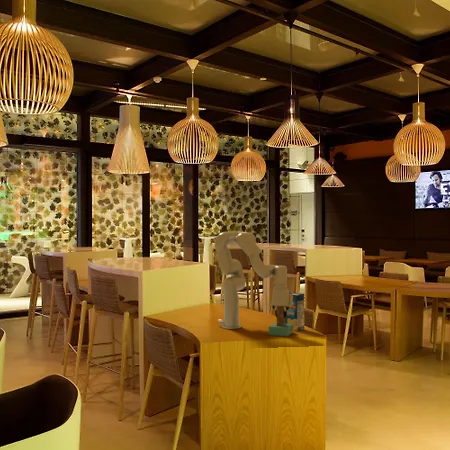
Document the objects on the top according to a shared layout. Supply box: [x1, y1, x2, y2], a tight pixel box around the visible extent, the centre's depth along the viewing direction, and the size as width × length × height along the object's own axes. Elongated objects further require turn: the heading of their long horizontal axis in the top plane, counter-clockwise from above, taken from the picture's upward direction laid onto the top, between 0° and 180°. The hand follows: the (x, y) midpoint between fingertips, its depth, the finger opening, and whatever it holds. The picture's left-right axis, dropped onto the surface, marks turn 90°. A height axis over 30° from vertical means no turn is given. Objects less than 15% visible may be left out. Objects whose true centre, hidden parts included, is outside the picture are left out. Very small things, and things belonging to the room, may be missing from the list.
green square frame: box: [268, 322, 294, 338], centre depth 308 cm, size 11×11×5 cm
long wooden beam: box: [276, 306, 285, 327], centre depth 308 cm, size 4×4×14 cm
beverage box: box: [285, 291, 305, 332], centre depth 320 cm, size 7×11×22 cm, turn 42°
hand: (281, 317), depth 308 cm, fingers closed on long wooden beam, 4 cm apart
